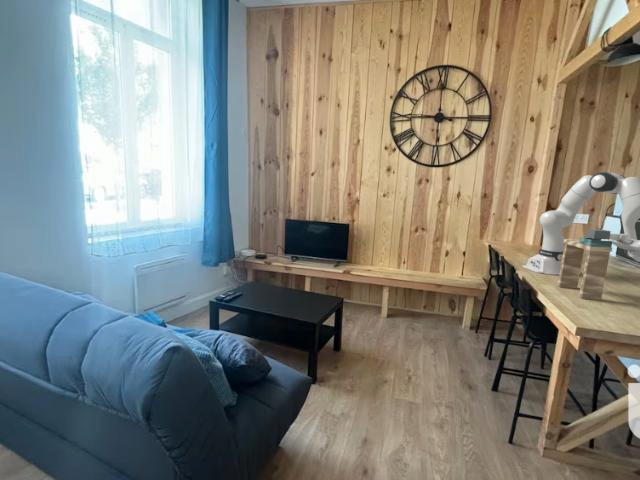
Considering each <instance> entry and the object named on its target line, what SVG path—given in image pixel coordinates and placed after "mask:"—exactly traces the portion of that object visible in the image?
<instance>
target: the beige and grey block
mask: <svg viewBox="0 0 640 480" xmlns="http://www.w3.org/2000/svg"><path fill="white" fill-rule="evenodd" d="M619 235H623V236H625V237H627V238H628V235H626V234H622V233H612V232H611V231H610V230H606V229H595V228H588V229H587V234H586V238H592V239H601V240H607V241H608V240H609V239H614V240H620V239H619V238H618V236H619Z"/></svg>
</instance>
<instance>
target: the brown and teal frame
mask: <svg viewBox="0 0 640 480" xmlns="http://www.w3.org/2000/svg"><path fill="white" fill-rule="evenodd" d="M612 246H613V244H612V241H608V240H602V239H592V238H588V237H584V236H583V237H580V238H579V239H573V238H571V239H570V238H567V239H566V238H564V246H563V256H562V261H561V269H560V275H558V282H557V287H558V288H561V289H562V288H563V289H576V290H577V289H578V286H579V280H580V275H581V269H582V264H583V258H584V252H585V250H586V256H585V262H584V269H583V273H582V278H581V279H582V280H581V284H580V289H579V294H578V299H581V300H593V301H602V297H603V291H604V287H605V280H606V276H607V270H608V265H609V260H610V256H611V252H612V251H613V247H612Z"/></svg>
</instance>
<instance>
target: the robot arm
mask: <svg viewBox="0 0 640 480" xmlns="http://www.w3.org/2000/svg"><path fill="white" fill-rule="evenodd" d="M596 193H601V194H613V195H618V196H619V197H620V200H621V203H622V211H621V213H620V215H619V221H620V228H621V234H626V235H628V238H627V237H625V236H623V235H619V236H618V238H619V239H620V240H614V239H609V240H608V239H607V241H612V245H613V246H615V247H617V248H619V249H622V250H623V252H624V253H623V254H624V255H625V257H626V258H628V259H630V260H631V261H634V262H638V263H640V239H639V240H638V237H637V231H636V227H635V226H636V224H637V223H636V222H637V221H638V220H639V219H640V178H639V177H638V176H629V177H626V176H624V175H622V174H618V173H615V172H605V171H604V172H603V171H602V172H601V171H600V172H597V173H595V174H593V175H590V174H587V175H584V176H582V177H581V178H580V179H578V180H577V181H576V182H575V183H574V184H573V186H571V187H570V189H569V190H568V191H567V192H566V193H565V194H564V196H563V197H562V198H561V201H560V204H559V206H558V207H557V209H555V210H548V211H545V212H544V213H542V214H541V215H540V216H539V223H540V225H541V227H542V235H543V237H542V245H541V248H539V249H538V248H537V252H538V253H537V254H535V255H534V256H531V257H529V258H528V260H527V263H526V264H523V265H522V268H525V269H527V270H529V271H532V272H535V273H537V274H545V275H546V274H547V275H554V276H555V275H556V276H559V275H560V269H561V263H562V256H563V250H564V244H565V243H564V239H565V237H564V235H563V229H564V228H567V227H569V226H571V225H572V224H573V223H574V222H575V218H576V216H577V214H578V213H579V212H580V210H581V209H582V207H584V205H585V204H586V203H587V202H588V201H589V200H590V199H591V198H592V197H593V195H594V194H596Z"/></svg>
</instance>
